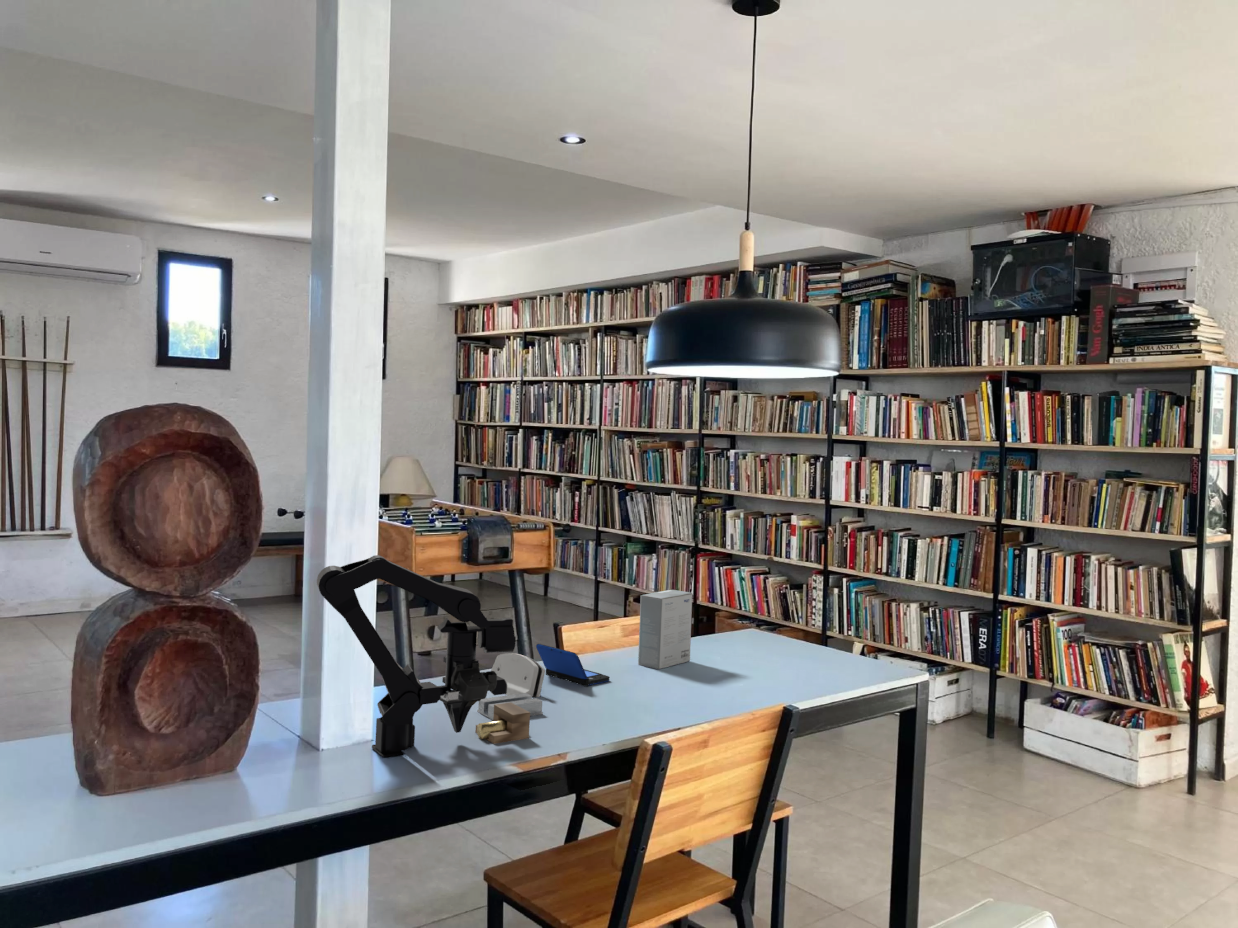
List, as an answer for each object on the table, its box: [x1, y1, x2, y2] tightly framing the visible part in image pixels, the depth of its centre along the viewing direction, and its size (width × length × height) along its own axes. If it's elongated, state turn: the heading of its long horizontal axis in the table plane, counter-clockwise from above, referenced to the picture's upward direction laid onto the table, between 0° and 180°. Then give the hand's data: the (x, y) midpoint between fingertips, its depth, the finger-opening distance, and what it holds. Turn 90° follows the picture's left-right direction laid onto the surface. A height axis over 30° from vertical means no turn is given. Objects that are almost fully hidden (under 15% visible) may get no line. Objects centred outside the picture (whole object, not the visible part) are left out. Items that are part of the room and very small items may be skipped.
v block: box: [477, 693, 544, 721], centre depth 204 cm, size 12×8×4 cm, turn 125°
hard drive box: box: [637, 589, 693, 670], centre depth 263 cm, size 16×8×20 cm, turn 141°
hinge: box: [490, 652, 546, 698], centre depth 226 cm, size 17×5×10 cm, turn 45°
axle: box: [476, 720, 507, 740], centre depth 189 cm, size 10×3×3 cm, turn 125°
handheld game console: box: [535, 643, 610, 687], centre depth 240 cm, size 16×13×9 cm
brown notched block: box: [475, 702, 531, 745], centre depth 189 cm, size 8×8×6 cm
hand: (457, 731), depth 183 cm, fingers closed
